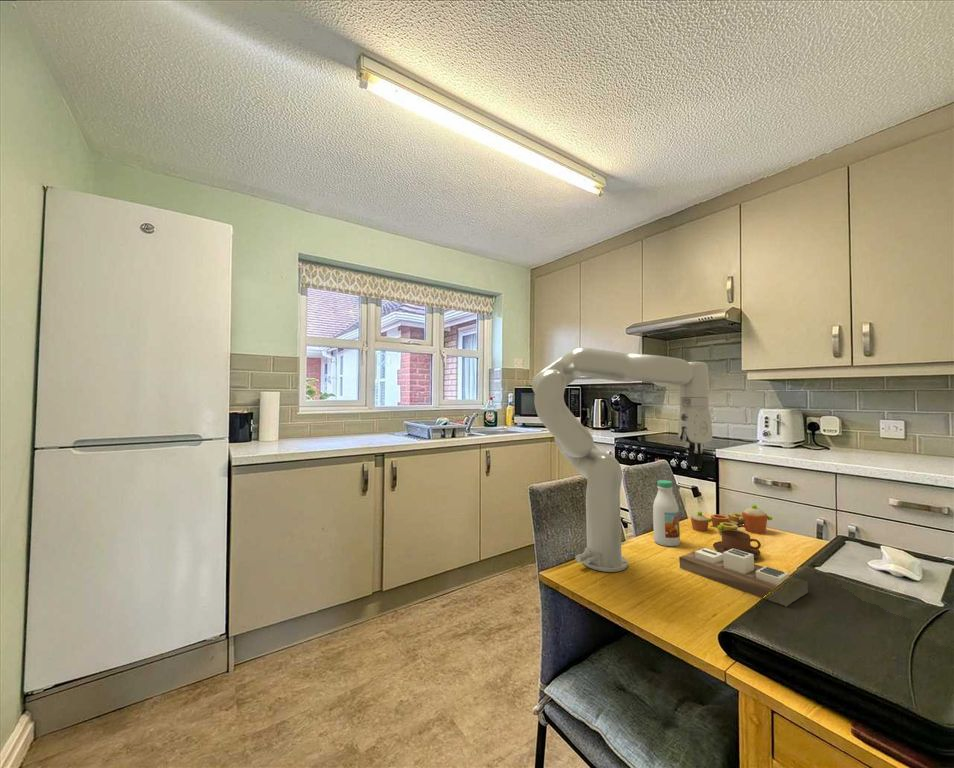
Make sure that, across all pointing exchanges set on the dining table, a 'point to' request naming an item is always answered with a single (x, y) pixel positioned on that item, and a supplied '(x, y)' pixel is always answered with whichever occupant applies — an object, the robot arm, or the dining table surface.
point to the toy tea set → (733, 521)
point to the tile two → (738, 561)
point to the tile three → (771, 575)
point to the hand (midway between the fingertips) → (694, 466)
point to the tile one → (709, 556)
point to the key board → (727, 575)
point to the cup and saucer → (737, 542)
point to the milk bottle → (666, 515)
